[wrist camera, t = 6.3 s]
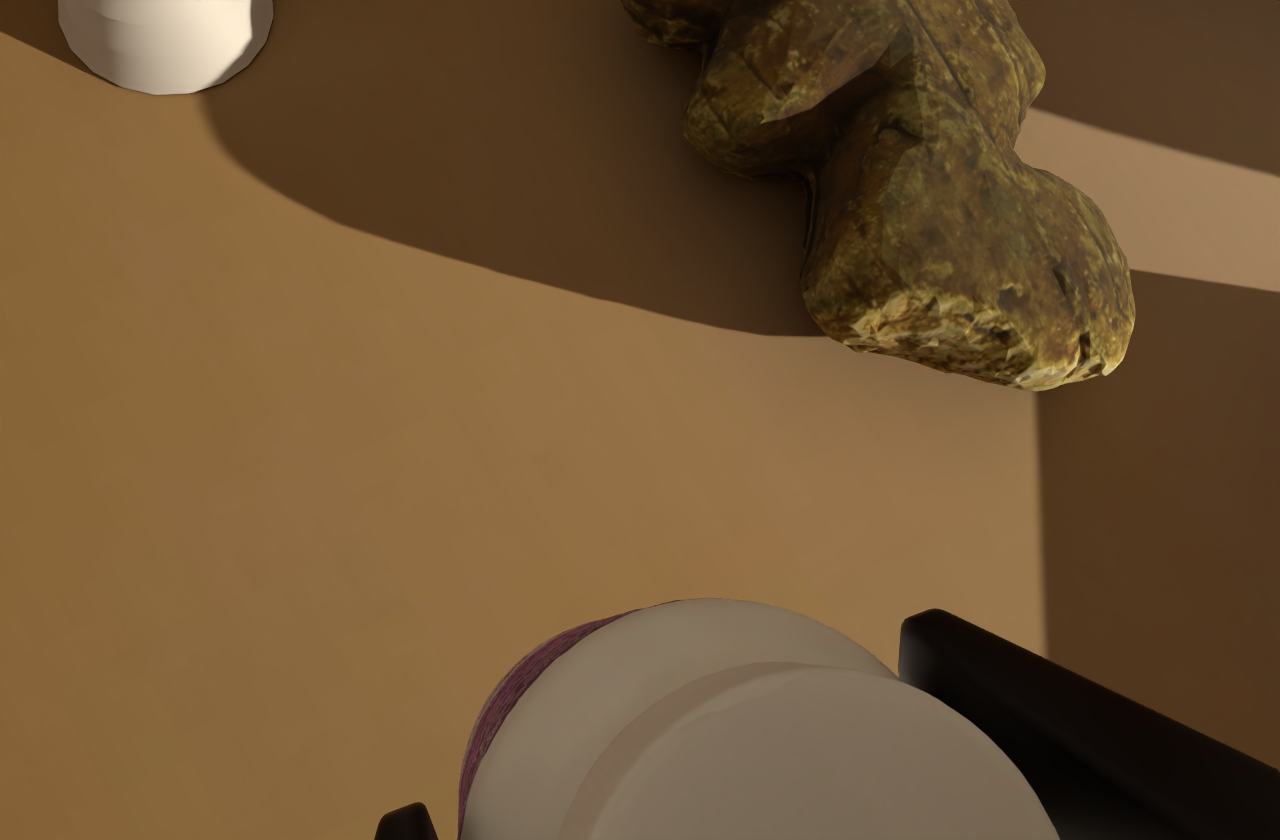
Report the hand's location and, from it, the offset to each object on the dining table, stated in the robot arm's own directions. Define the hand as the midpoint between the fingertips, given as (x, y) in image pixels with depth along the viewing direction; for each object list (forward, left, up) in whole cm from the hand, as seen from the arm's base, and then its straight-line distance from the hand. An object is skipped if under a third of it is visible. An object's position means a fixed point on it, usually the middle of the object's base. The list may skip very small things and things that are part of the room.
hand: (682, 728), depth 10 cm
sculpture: (+15, -6, -12) cm, 20 cm away
